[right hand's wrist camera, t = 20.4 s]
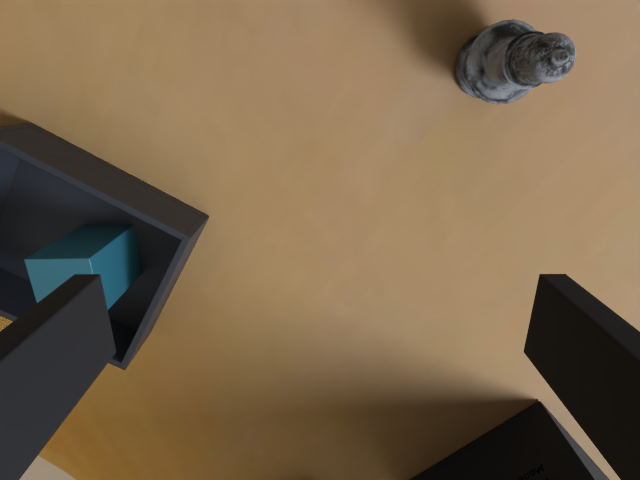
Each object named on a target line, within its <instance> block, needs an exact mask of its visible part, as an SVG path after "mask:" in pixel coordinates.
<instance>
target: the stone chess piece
mask: <svg viewBox="0 0 640 480" xmlns="http://www.w3.org/2000/svg"><path fill="white" fill-rule="evenodd" d="M575 58H576V50H575V46H574V43H573V41H572V40H571V39H570V38H569V37H568V36H566V35H564V34H561V33H547V34H544V33H542V32H538V31H535V29H534V28H533V27H532V26H530V25H528V24H526V23H525V22H522V21H517V20H505V21H501V22H498V23H495V24H493V25H491V26H490V27H488V28H487V29H485V30H484V31H483V32H481V33H478V34H476V35H475V36H473V37H472V38H470V39H469V40H468V41H467V42H466V44H465V45H464V46H463V47H462V49H461V51H460V53H459V55H458V58H457V62H456V76H457V80H458V82H459V84H460V86H461V88H462V89H463V90H464V91H465V92H466V93H467V94H469V95H471V96H473V97H476V98H480V99H482V100H484V101H486V102H488V103H493V104H506V103H510V102H513V101H515V100H518V99H519V98H521V97H522V96H524V95H525V94H527V93H528V92H529V91H530V90H531V89H532V88H534V87H537V86H539V85H540V84H542V83H552V82H555V81H558V80H560V79H562V78H563V77H565V76H566V75H567V74H568V73H569V72H570V70H571V68H572V67H573V65H574V62H575Z"/></svg>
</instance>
